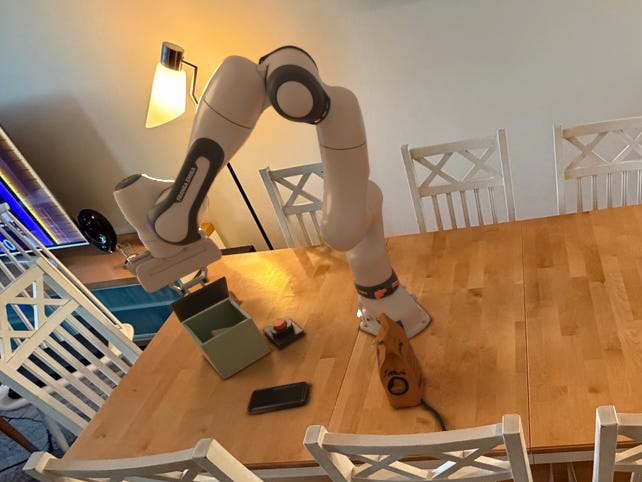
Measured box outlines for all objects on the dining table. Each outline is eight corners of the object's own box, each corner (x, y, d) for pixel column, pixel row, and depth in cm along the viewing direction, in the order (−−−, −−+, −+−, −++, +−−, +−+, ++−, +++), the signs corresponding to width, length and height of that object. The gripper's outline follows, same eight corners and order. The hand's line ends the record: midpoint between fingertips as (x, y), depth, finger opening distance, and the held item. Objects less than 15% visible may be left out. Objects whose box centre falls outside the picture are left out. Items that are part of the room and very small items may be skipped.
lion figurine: (250, 319, 162) (237, 296, 156) (234, 326, 160) (220, 304, 154) (239, 298, 172) (226, 277, 165) (223, 305, 170) (210, 283, 164)
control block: (304, 334, 152) (300, 326, 150) (281, 349, 149) (276, 340, 147) (288, 320, 159) (283, 311, 156) (265, 333, 155) (260, 325, 153)
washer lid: (226, 278, 134) (215, 264, 133) (171, 306, 128) (160, 292, 127) (229, 297, 149) (220, 284, 148) (180, 322, 142) (171, 310, 142)
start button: (288, 325, 151) (286, 321, 150) (278, 332, 150) (275, 327, 149) (283, 321, 154) (280, 316, 152) (272, 327, 152) (270, 322, 151)
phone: (303, 402, 130) (246, 411, 130) (304, 405, 131) (248, 414, 131) (307, 380, 136) (253, 389, 136) (309, 383, 136) (254, 392, 137)
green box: (271, 351, 149) (251, 317, 140) (224, 379, 142) (200, 346, 134) (248, 329, 158) (229, 297, 149) (204, 355, 152) (180, 323, 143)
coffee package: (385, 413, 125) (359, 348, 110) (388, 377, 134) (364, 313, 119) (425, 407, 125) (404, 341, 110) (425, 371, 134) (405, 306, 119)
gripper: (126, 266, 117) (159, 312, 127) (209, 228, 126) (235, 273, 136) (118, 257, 121) (152, 302, 131) (200, 221, 130) (225, 266, 139)
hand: (195, 287), depth 133 cm, fingers closed on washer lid, 5 cm apart
